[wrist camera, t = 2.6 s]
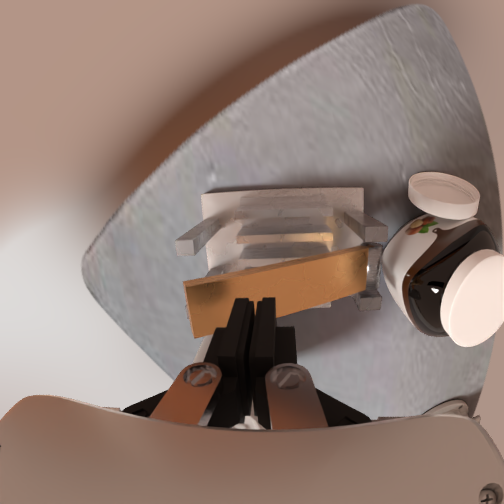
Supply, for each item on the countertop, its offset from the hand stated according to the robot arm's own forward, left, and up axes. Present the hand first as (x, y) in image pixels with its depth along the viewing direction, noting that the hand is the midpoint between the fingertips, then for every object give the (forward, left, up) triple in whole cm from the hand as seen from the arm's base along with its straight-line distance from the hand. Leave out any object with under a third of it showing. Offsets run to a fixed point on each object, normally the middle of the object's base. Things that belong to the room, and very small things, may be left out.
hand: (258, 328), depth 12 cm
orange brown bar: (-2, 0, -6) cm, 6 cm away
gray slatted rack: (-1, 0, -14) cm, 14 cm away
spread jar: (-15, 0, -15) cm, 21 cm away
